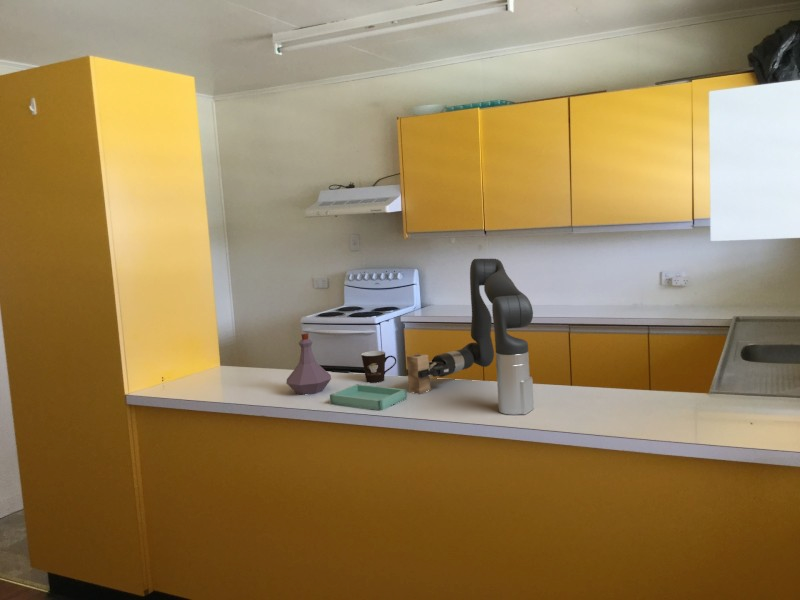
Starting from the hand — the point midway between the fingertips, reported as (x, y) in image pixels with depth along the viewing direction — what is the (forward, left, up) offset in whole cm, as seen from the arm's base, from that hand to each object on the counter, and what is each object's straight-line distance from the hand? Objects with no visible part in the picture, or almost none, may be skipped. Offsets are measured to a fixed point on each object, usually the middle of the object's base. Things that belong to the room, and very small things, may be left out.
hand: (412, 373), depth 220 cm
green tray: (+8, +13, -7) cm, 17 cm away
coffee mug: (+21, -10, -7) cm, 24 cm away
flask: (+36, +10, -7) cm, 39 cm away
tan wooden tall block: (-1, -3, -7) cm, 7 cm away
